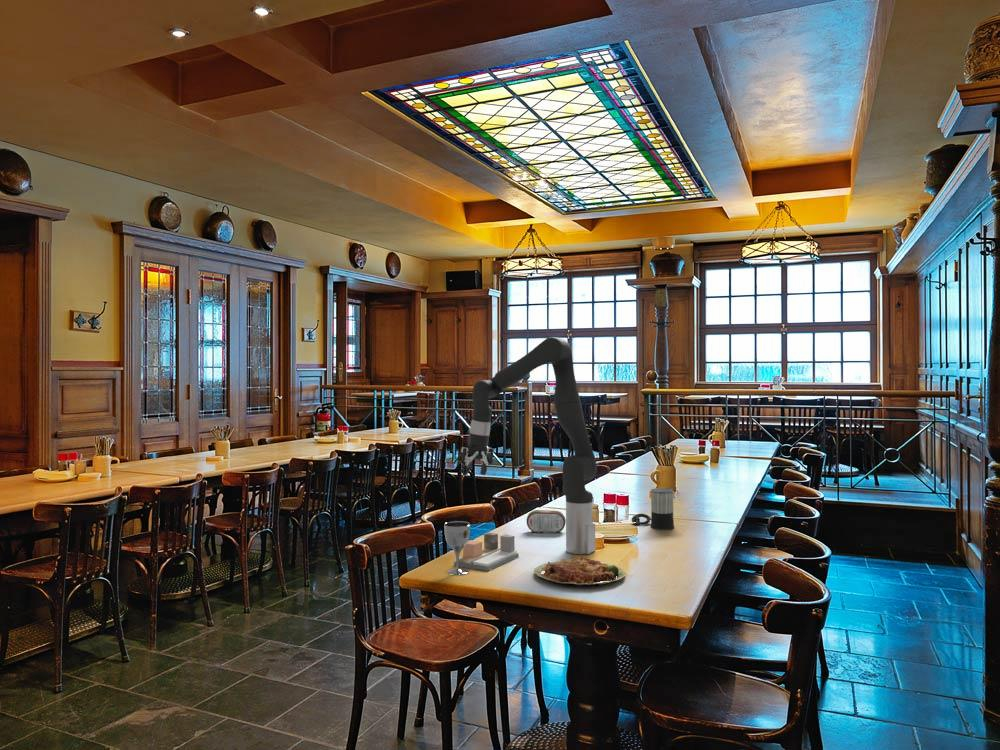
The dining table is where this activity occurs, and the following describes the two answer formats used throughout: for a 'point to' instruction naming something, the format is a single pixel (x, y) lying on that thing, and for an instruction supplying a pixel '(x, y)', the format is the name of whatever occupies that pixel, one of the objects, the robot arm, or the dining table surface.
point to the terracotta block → (472, 549)
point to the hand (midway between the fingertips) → (473, 474)
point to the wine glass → (457, 541)
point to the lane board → (488, 566)
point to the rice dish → (579, 571)
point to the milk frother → (659, 510)
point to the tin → (545, 521)
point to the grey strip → (499, 552)
